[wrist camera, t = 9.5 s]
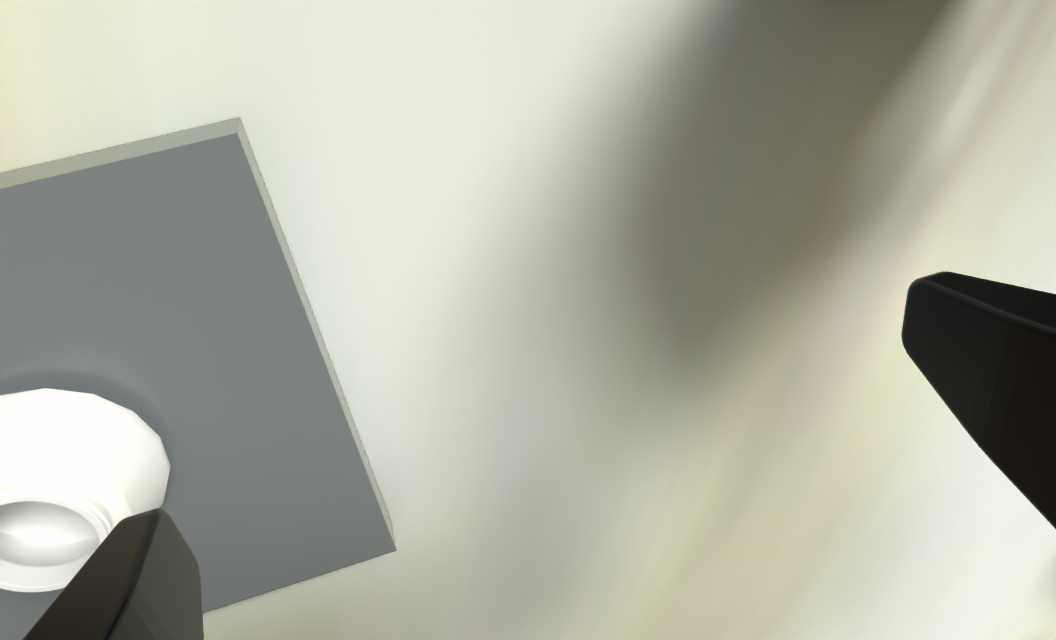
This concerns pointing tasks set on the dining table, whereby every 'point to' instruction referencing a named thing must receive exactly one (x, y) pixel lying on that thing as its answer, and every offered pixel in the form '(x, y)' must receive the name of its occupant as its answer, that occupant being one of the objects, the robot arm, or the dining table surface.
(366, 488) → the coaster
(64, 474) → the white jar
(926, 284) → the robot arm
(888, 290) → the dining table surface
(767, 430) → the dining table surface
